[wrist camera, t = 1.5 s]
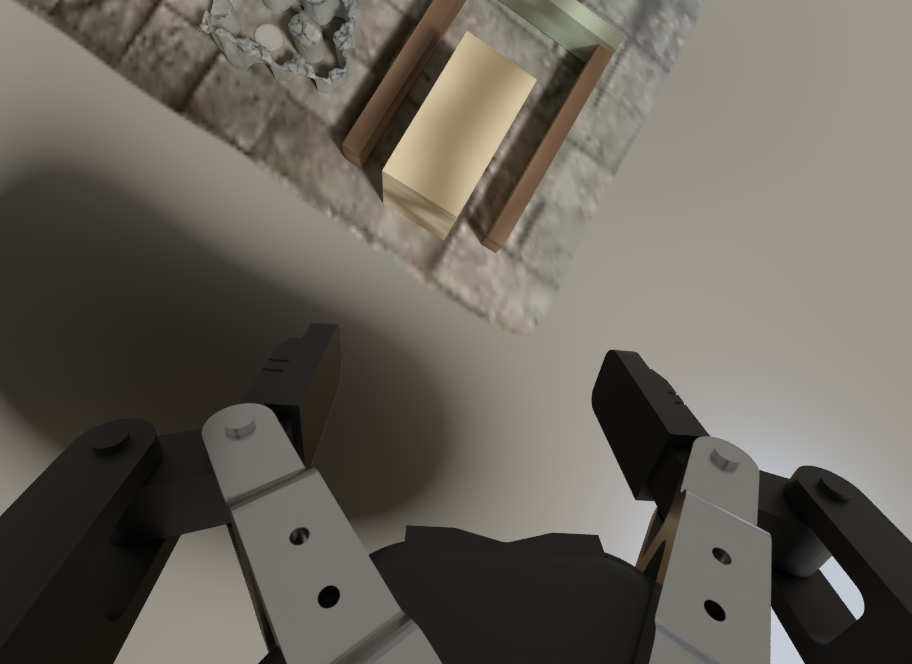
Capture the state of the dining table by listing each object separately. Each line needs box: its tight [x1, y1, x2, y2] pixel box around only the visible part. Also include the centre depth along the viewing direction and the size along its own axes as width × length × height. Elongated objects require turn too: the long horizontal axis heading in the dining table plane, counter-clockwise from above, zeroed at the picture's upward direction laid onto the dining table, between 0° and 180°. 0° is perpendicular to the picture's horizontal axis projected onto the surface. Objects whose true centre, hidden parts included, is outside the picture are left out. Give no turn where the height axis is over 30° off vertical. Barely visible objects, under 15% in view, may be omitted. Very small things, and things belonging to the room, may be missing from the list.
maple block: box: [382, 31, 536, 240], centre depth 32 cm, size 6×12×7 cm, turn 150°
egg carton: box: [198, 0, 357, 94], centre depth 32 cm, size 11×8×4 cm
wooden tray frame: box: [342, 0, 624, 253], centre depth 35 cm, size 15×22×3 cm
